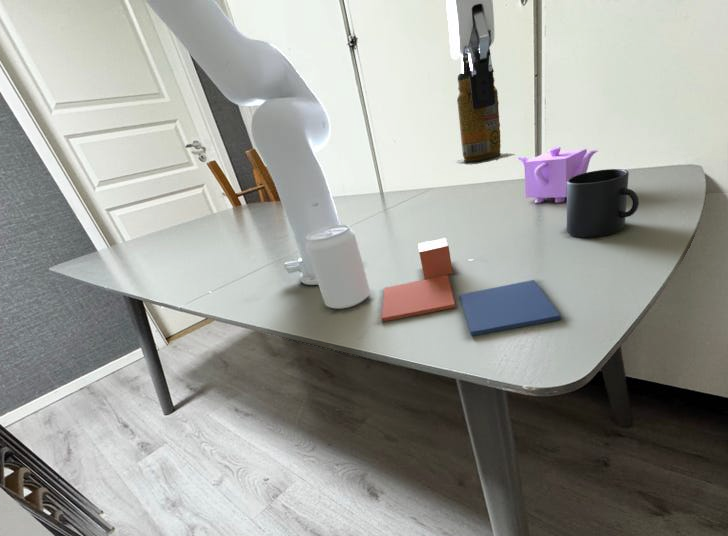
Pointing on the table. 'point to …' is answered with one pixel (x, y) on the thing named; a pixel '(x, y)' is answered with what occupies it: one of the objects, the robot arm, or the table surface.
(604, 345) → the table surface
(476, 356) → the table surface
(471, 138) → the condiment
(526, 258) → the table surface
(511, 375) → the table surface
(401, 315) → the terracotta mat
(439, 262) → the terracotta block
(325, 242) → the beverage can
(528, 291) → the slate mat
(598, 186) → the mug
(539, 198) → the teapot
